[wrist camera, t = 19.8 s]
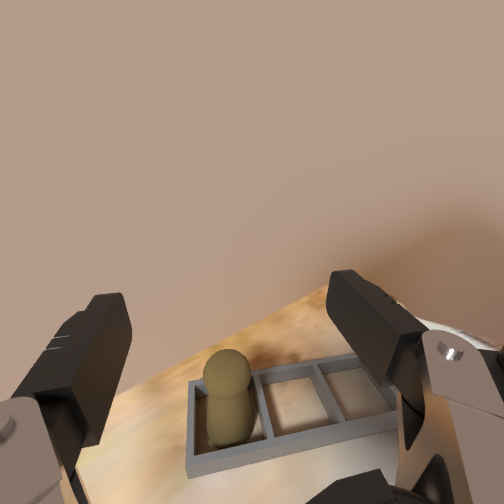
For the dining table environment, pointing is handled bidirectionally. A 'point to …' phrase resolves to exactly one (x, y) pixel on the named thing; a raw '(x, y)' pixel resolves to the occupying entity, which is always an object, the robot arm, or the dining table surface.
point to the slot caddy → (295, 441)
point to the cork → (228, 399)
